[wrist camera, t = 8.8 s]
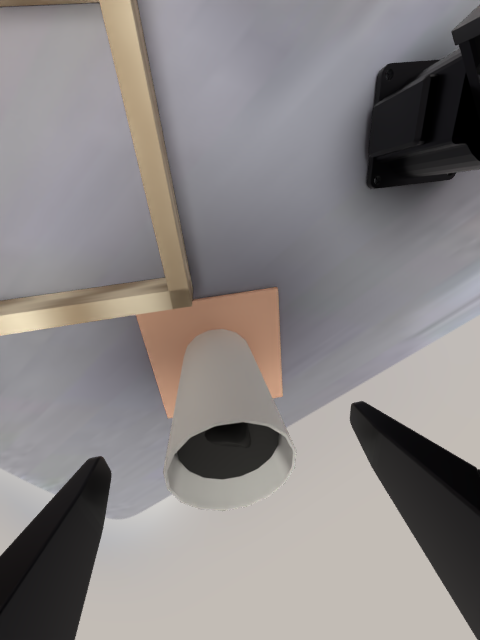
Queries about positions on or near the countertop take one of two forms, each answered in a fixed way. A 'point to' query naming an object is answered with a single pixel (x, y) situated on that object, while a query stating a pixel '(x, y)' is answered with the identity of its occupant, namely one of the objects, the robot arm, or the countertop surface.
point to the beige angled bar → (159, 191)
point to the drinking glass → (225, 428)
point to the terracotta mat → (210, 314)
